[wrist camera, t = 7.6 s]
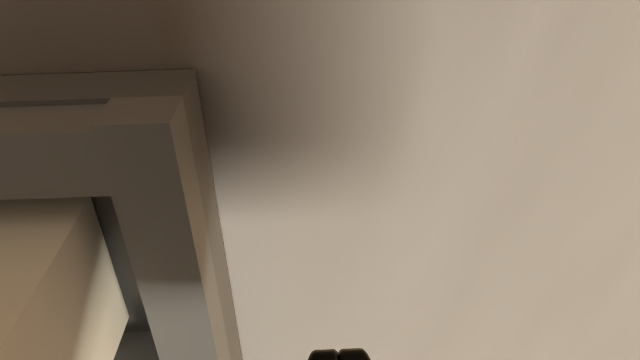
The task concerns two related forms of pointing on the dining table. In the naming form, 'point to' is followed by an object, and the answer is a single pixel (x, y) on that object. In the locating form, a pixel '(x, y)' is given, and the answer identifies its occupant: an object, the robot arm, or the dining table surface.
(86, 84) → the gray shelf unit
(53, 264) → the tab
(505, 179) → the dining table surface
